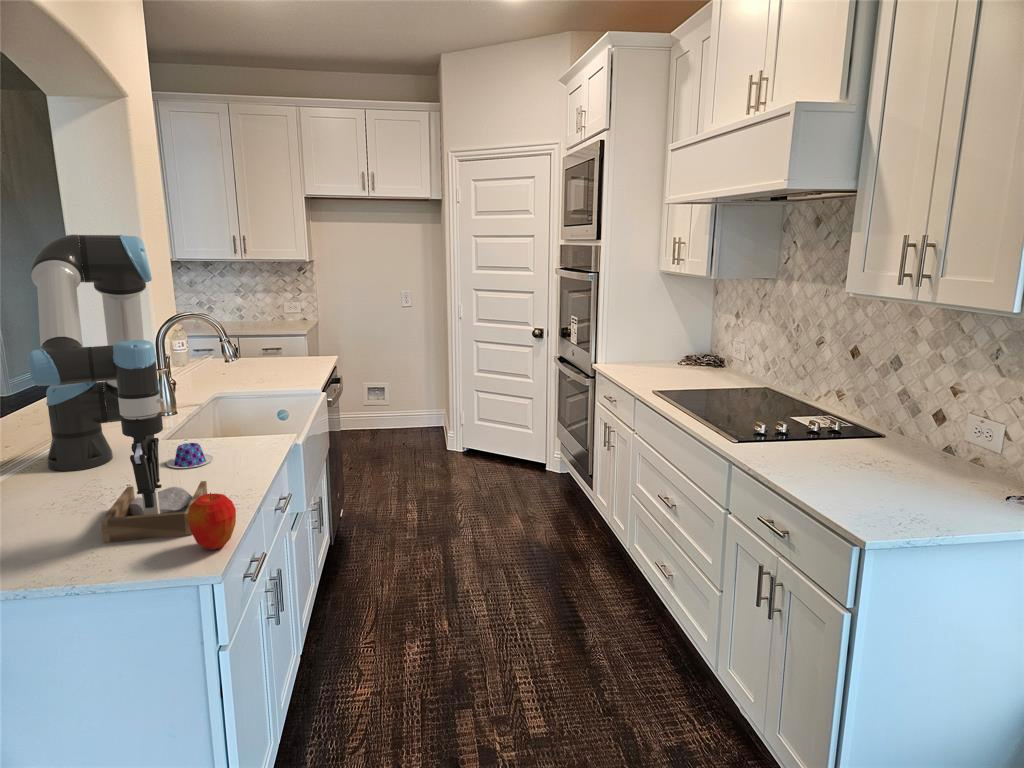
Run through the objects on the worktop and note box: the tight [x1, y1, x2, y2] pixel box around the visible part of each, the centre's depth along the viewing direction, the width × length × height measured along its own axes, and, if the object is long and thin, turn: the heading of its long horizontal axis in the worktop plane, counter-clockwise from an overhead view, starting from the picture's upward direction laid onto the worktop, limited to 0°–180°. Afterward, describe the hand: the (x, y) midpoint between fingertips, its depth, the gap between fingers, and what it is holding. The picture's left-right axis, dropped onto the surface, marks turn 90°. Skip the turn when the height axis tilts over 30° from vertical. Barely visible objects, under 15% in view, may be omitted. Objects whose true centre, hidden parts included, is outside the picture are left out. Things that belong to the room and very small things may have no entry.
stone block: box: [130, 486, 193, 516], centre depth 152 cm, size 12×5×10 cm
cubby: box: [100, 480, 208, 544], centre depth 147 cm, size 19×17×5 cm
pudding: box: [165, 442, 214, 469], centre depth 184 cm, size 12×12×5 cm
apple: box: [187, 492, 237, 550], centre depth 134 cm, size 9×9×12 cm
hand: (152, 519), depth 142 cm, fingers closed
